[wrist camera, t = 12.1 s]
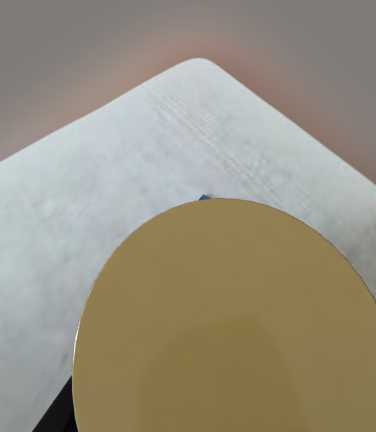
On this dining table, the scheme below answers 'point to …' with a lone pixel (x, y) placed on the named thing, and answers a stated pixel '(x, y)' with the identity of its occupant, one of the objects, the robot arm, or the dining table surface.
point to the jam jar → (226, 329)
